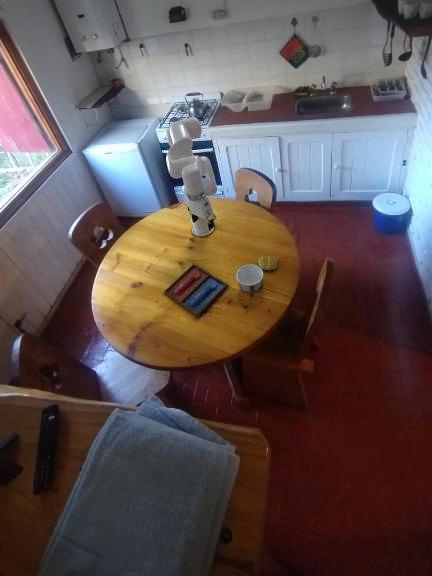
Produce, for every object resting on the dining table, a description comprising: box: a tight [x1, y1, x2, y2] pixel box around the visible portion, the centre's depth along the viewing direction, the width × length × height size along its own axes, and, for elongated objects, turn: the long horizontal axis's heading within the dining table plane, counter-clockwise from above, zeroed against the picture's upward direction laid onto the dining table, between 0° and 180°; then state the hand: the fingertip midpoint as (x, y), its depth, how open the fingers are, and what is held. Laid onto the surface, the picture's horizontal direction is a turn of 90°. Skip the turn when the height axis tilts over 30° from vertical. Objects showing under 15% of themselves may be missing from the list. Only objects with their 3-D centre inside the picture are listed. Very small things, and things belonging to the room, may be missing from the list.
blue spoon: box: [191, 281, 217, 306], centre depth 156 cm, size 16×4×2 cm, turn 139°
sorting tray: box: [163, 263, 229, 318], centre depth 160 cm, size 22×20×2 cm
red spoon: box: [174, 271, 201, 295], centre depth 162 cm, size 16×4×2 cm, turn 139°
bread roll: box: [257, 255, 279, 271], centre depth 164 cm, size 8×9×4 cm
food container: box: [235, 264, 264, 293], centre depth 156 cm, size 12×12×6 cm
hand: (203, 224), depth 152 cm, fingers open, 9 cm apart
